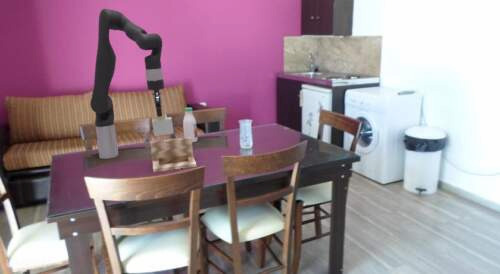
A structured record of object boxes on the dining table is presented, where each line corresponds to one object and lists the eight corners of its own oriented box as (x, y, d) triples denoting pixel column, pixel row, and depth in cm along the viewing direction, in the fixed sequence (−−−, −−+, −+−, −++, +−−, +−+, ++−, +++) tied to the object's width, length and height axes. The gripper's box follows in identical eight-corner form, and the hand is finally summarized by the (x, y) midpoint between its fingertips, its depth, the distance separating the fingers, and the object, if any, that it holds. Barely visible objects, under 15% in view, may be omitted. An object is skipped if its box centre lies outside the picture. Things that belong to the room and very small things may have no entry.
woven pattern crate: (153, 172, 179) (150, 149, 176) (152, 163, 192) (150, 141, 189) (196, 166, 184) (194, 144, 181) (192, 158, 197) (191, 137, 194)
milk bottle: (191, 143, 223) (188, 109, 218) (181, 142, 227) (178, 108, 222) (200, 140, 230) (197, 107, 224) (190, 139, 234) (187, 106, 228)
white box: (154, 136, 181) (150, 108, 177) (154, 133, 185) (149, 107, 182) (173, 133, 183) (169, 106, 179) (173, 131, 187) (169, 104, 184)
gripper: (146, 78, 182) (151, 114, 187) (146, 81, 170) (151, 119, 174) (162, 76, 184) (166, 112, 189) (163, 79, 171) (168, 117, 176)
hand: (159, 115), depth 181 cm, fingers closed on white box
